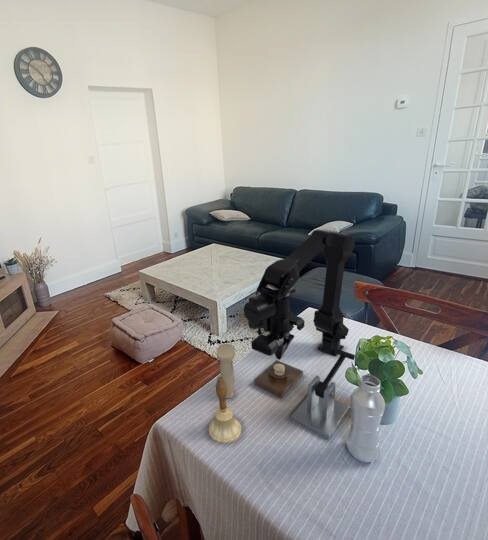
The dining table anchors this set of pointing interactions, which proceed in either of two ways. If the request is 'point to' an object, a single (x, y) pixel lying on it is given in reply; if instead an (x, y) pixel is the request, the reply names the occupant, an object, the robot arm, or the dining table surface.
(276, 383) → the button block
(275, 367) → the button
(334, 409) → the bracket
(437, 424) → the dining table surface
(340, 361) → the lever
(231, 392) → the handle
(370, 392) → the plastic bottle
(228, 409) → the hand bell
